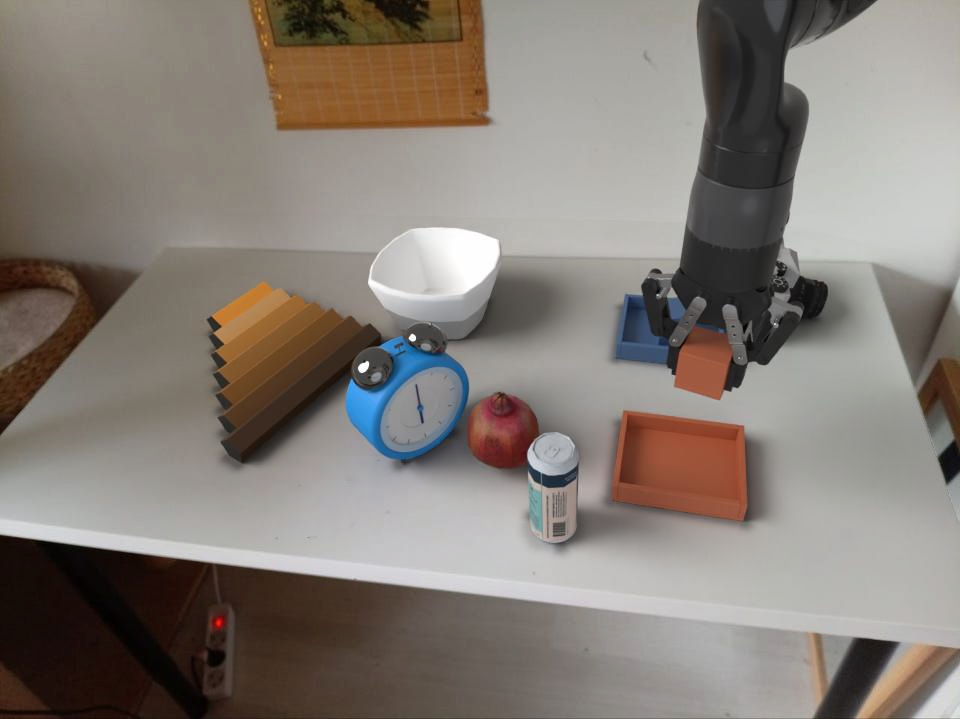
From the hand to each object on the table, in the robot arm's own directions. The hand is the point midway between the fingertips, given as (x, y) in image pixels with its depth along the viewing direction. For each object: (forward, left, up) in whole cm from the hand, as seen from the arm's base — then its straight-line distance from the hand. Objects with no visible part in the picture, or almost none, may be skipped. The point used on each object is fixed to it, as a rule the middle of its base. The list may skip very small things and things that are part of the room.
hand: (703, 377), depth 66 cm
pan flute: (+57, -7, -14) cm, 59 cm away
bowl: (+35, -23, -14) cm, 44 cm away
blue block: (+3, -23, -13) cm, 26 cm away
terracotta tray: (+1, 0, -14) cm, 14 cm away
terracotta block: (0, 0, 0) cm, 0 cm away
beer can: (+13, +10, -14) cm, 21 cm away
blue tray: (+3, -23, -14) cm, 27 cm away
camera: (-11, -30, -14) cm, 35 cm away
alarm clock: (+31, +1, -14) cm, 34 cm away
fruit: (+20, +2, -14) cm, 24 cm away
